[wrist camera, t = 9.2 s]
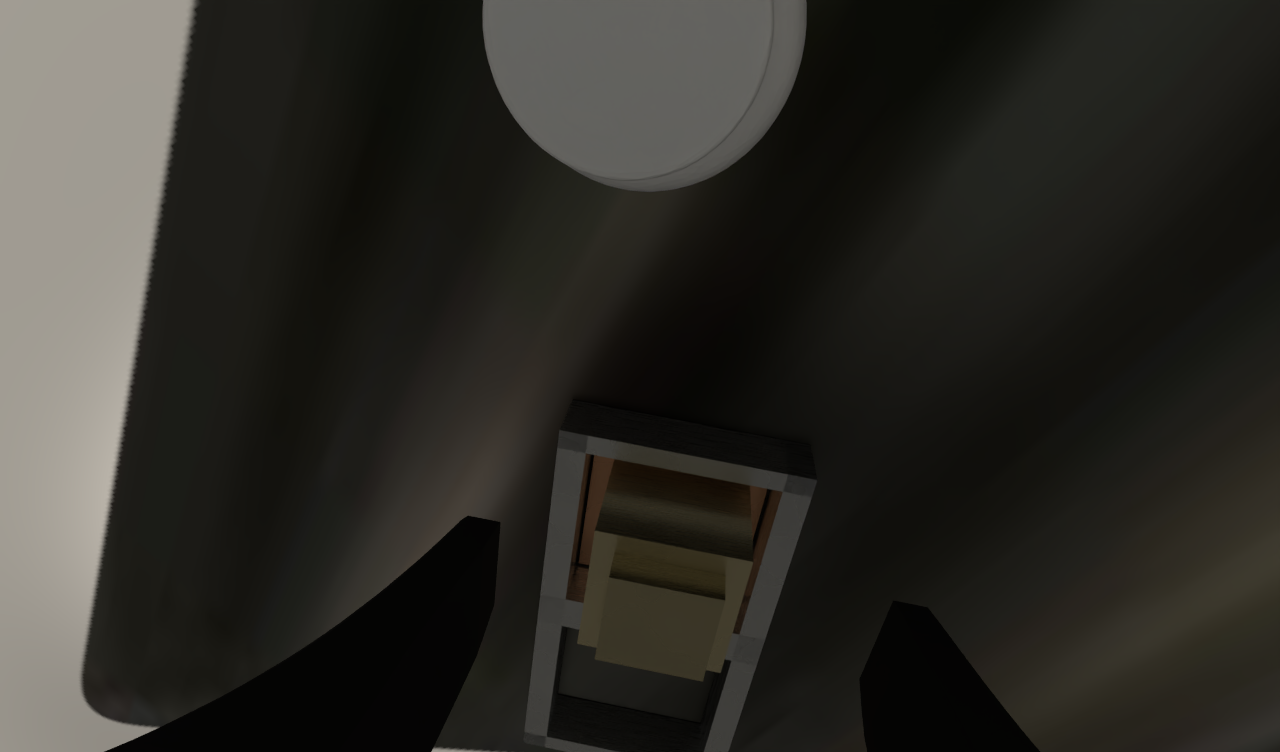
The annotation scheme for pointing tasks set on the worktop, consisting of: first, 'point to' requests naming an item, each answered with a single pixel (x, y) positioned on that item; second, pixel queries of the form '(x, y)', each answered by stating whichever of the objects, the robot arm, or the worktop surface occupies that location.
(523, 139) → the worktop surface
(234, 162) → the worktop surface
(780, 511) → the grey flat frame
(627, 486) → the block
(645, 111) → the pill bottle
